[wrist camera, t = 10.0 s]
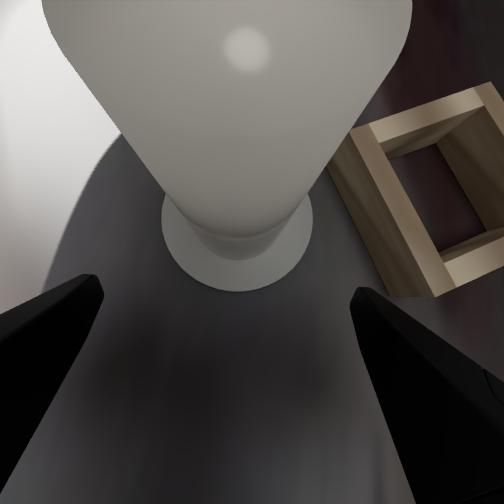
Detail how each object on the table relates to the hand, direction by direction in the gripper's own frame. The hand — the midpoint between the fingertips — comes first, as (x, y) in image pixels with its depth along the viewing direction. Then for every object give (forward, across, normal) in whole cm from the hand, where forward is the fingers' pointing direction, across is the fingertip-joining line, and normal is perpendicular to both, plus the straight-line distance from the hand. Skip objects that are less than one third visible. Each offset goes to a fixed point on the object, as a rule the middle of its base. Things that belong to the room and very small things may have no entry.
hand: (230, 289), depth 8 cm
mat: (+10, 0, +2) cm, 10 cm away
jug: (+10, 0, +1) cm, 10 cm away
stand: (+12, -14, 0) cm, 18 cm away
